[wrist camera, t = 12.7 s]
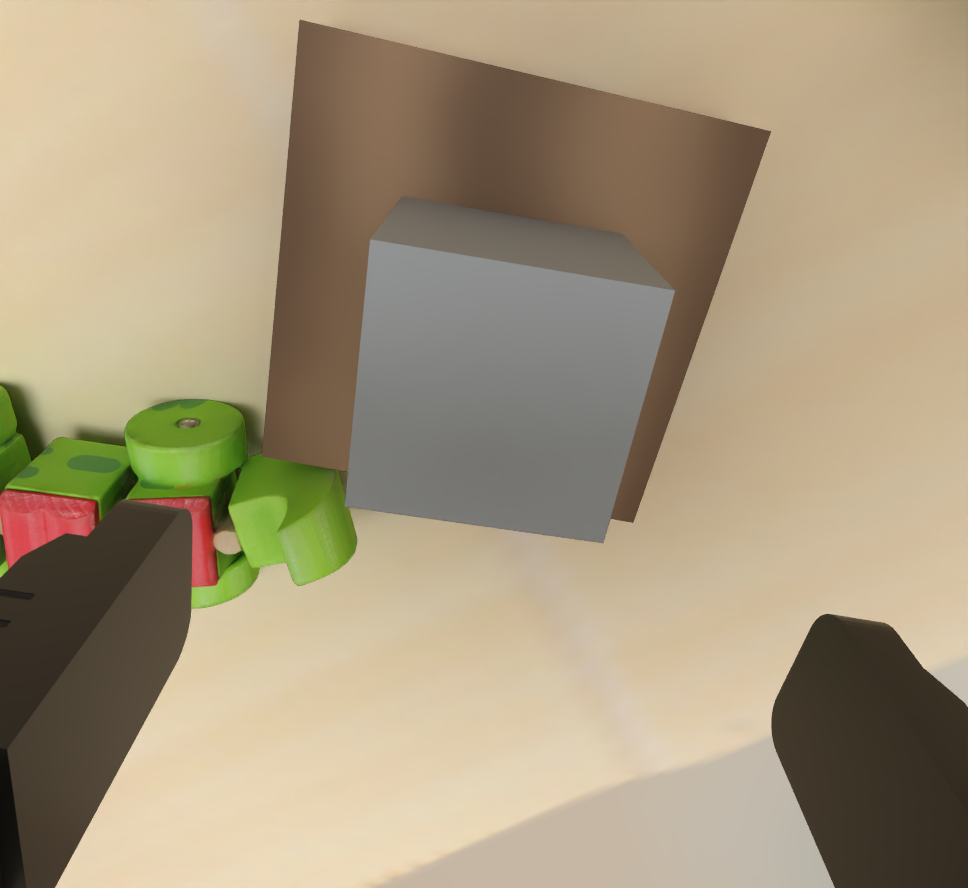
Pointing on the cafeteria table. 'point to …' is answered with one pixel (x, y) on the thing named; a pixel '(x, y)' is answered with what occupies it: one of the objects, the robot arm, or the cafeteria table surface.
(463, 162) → the walnut slab
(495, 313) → the slate cube
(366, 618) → the cafeteria table surface
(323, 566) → the toy crocodile
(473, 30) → the cafeteria table surface
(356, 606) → the cafeteria table surface
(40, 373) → the cafeteria table surface
